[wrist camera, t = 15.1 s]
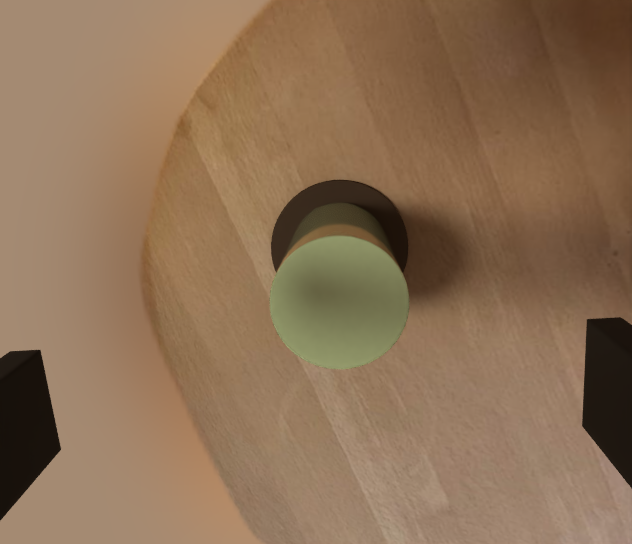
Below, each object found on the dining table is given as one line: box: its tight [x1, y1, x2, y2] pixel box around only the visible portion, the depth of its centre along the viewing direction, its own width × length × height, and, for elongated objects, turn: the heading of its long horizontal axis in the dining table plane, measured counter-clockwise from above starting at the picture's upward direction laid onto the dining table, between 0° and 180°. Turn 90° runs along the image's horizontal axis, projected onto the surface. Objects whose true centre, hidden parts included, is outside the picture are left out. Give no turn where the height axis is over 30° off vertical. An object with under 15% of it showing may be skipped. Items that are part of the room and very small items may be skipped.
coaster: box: [271, 180, 408, 273], centre depth 38 cm, size 9×9×1 cm
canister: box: [270, 203, 409, 369], centre depth 32 cm, size 6×6×12 cm
